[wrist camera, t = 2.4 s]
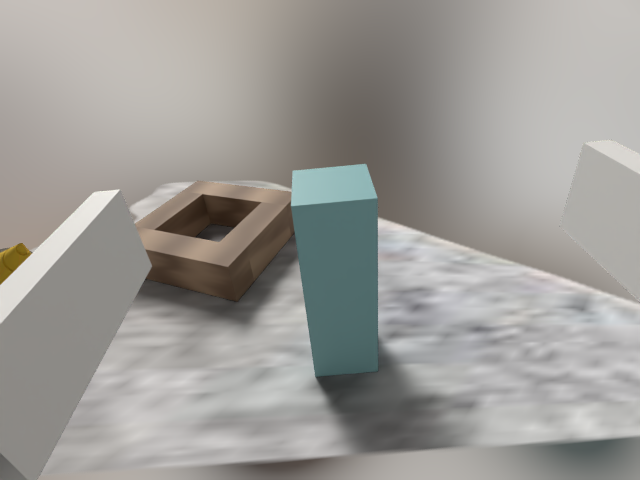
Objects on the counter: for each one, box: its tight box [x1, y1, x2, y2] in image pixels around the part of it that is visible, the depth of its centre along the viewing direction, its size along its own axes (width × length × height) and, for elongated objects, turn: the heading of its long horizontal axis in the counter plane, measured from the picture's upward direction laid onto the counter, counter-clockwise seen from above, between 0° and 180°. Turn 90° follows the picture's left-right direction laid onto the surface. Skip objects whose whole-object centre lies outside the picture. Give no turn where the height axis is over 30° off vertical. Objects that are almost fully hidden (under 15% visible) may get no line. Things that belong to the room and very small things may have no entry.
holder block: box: [135, 181, 295, 302], centre depth 42 cm, size 14×14×4 cm
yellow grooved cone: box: [0, 243, 33, 285], centre depth 37 cm, size 5×5×10 cm
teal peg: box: [291, 164, 378, 377], centre depth 26 cm, size 4×4×14 cm
